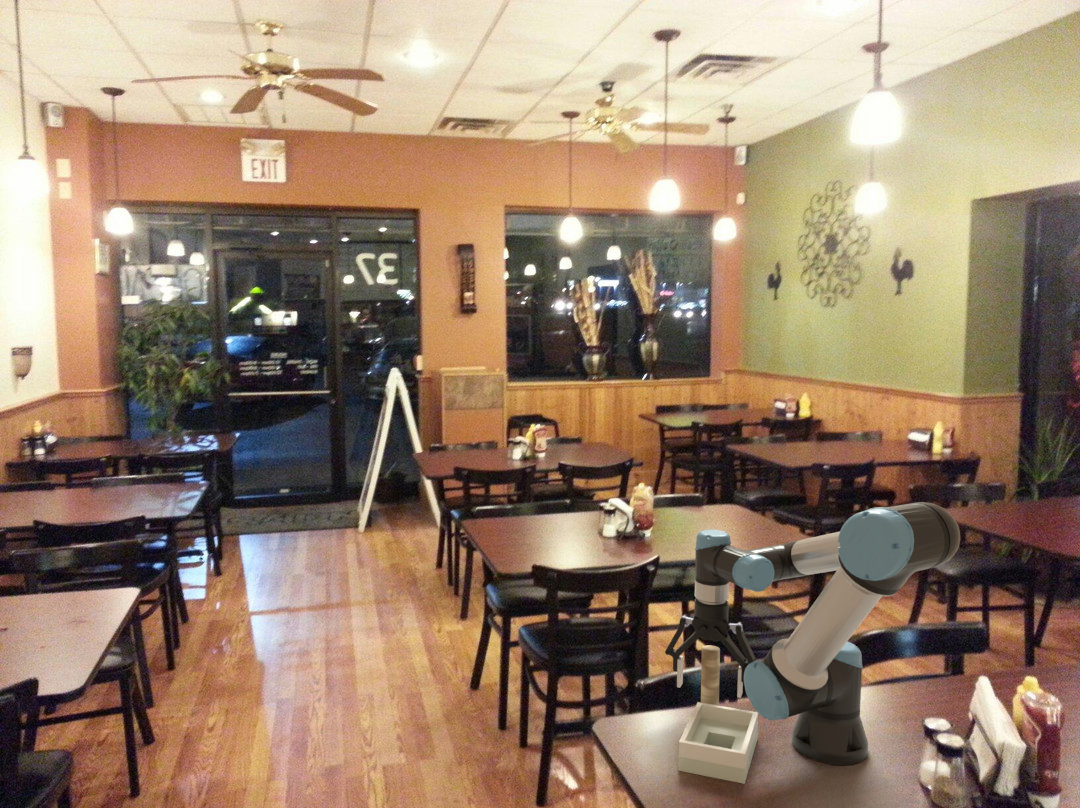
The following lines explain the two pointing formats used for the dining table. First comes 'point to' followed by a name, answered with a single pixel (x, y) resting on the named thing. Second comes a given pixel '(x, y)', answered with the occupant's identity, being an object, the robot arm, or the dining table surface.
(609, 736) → the dining table surface
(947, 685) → the dining table surface
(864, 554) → the robot arm
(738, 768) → the bore tray
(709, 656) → the peg
